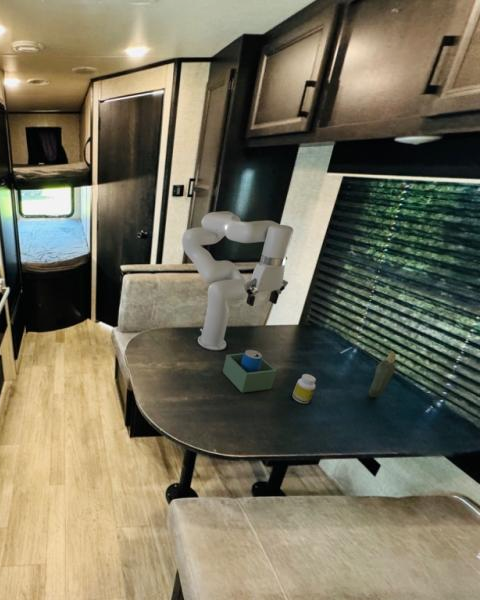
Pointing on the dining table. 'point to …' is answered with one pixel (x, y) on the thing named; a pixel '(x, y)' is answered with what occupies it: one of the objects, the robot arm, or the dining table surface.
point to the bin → (248, 374)
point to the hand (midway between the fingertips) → (261, 303)
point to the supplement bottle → (304, 389)
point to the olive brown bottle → (382, 375)
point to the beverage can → (251, 361)
